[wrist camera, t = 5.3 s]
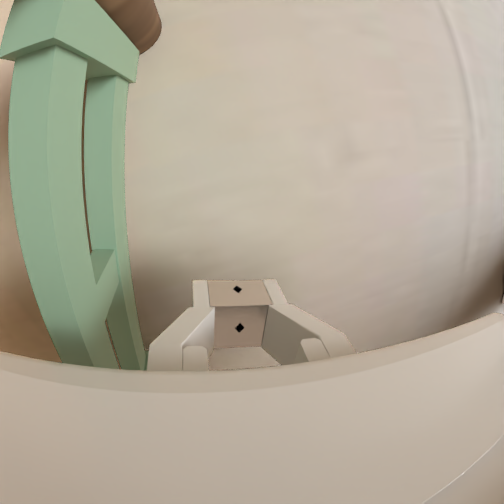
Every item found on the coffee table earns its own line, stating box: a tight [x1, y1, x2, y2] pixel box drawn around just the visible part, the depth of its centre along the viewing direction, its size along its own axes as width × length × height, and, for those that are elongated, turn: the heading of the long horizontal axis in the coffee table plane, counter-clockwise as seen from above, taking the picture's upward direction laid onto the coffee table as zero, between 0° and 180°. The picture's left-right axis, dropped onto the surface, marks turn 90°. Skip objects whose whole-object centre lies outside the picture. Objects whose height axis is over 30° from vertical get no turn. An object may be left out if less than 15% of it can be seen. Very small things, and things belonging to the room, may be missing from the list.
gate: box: [0, 0, 149, 371], centre depth 10 cm, size 2×19×8 cm, turn 174°
